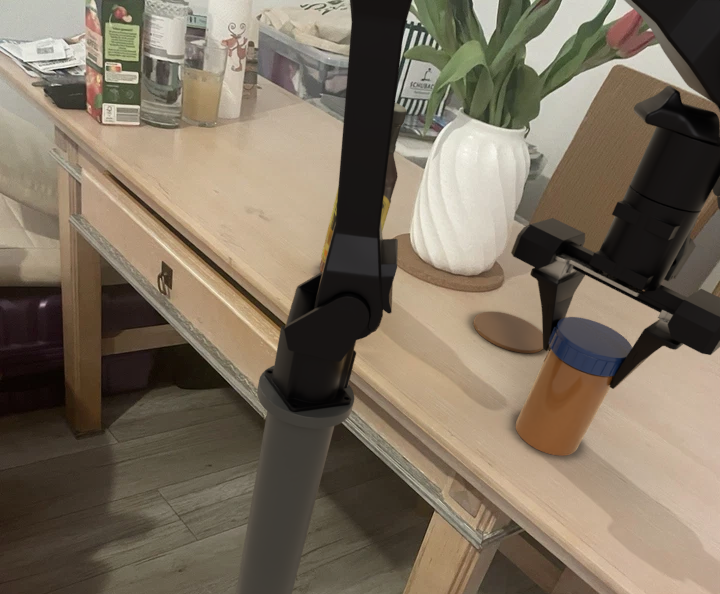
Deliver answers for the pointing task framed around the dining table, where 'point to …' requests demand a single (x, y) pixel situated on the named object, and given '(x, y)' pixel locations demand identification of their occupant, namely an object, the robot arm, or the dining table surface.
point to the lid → (589, 346)
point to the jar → (560, 406)
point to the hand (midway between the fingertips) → (579, 367)
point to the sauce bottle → (389, 183)
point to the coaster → (509, 332)
